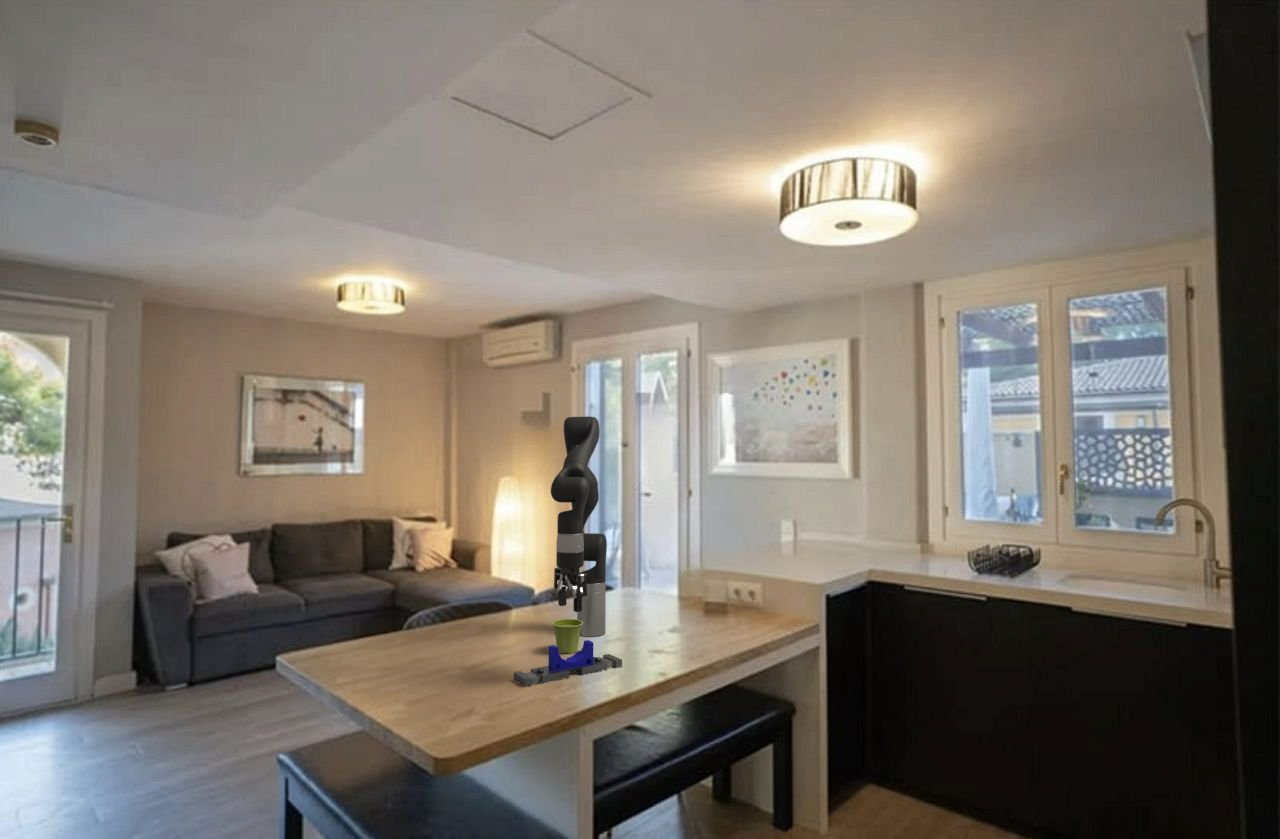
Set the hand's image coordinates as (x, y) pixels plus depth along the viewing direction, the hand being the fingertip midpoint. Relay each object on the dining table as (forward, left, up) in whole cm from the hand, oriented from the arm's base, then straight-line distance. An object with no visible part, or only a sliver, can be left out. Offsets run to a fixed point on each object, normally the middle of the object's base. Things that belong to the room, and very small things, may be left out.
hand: (569, 608), depth 191 cm
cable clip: (0, 0, -16) cm, 16 cm away
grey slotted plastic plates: (0, 0, -18) cm, 18 cm away
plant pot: (-19, +10, -18) cm, 28 cm away
